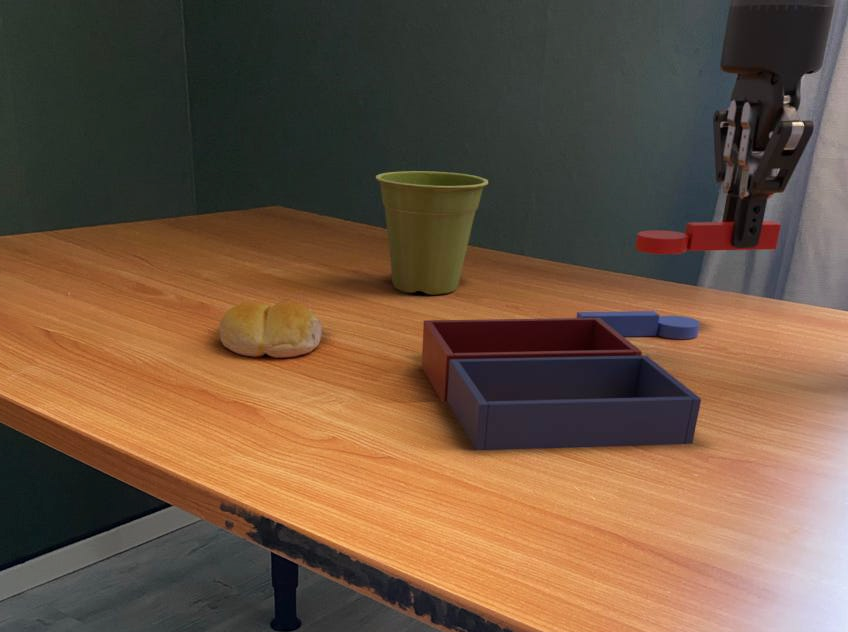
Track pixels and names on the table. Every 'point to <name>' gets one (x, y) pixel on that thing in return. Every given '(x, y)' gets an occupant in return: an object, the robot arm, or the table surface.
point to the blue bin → (570, 402)
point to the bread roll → (270, 329)
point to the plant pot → (429, 227)
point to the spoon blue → (647, 324)
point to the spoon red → (702, 238)
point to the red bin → (515, 342)
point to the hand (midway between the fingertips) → (738, 243)
